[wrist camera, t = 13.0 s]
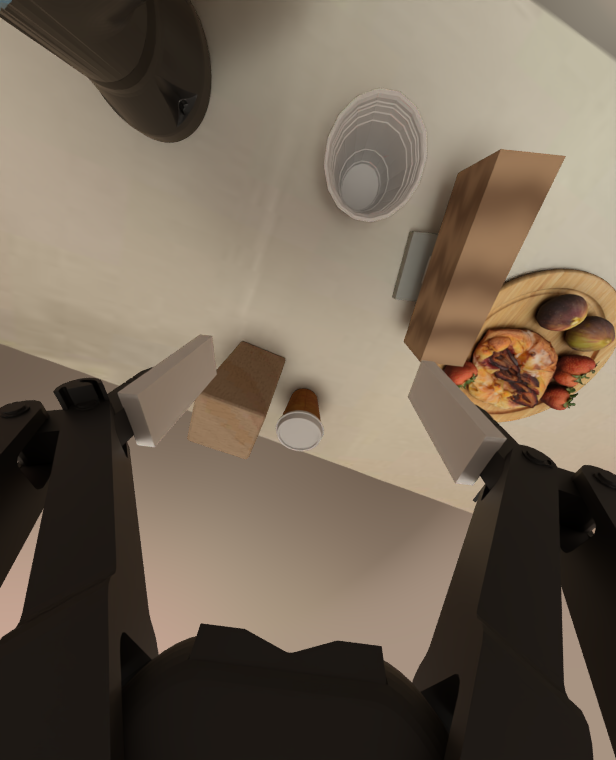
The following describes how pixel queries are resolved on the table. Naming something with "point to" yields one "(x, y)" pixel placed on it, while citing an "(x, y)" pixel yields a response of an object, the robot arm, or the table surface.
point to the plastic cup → (375, 155)
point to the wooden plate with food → (539, 344)
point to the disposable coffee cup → (300, 422)
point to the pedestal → (414, 265)
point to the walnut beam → (477, 250)
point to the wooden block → (236, 401)
